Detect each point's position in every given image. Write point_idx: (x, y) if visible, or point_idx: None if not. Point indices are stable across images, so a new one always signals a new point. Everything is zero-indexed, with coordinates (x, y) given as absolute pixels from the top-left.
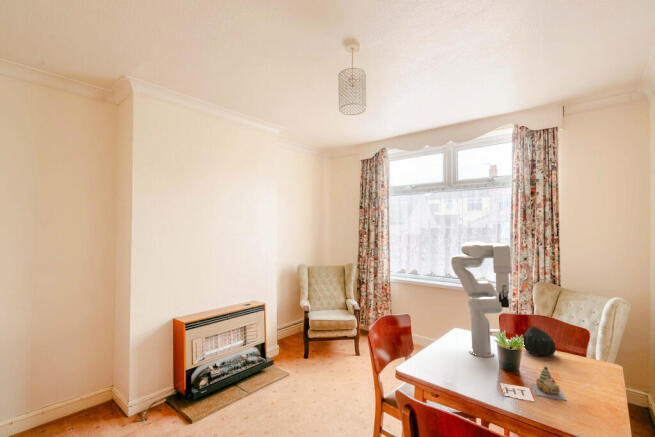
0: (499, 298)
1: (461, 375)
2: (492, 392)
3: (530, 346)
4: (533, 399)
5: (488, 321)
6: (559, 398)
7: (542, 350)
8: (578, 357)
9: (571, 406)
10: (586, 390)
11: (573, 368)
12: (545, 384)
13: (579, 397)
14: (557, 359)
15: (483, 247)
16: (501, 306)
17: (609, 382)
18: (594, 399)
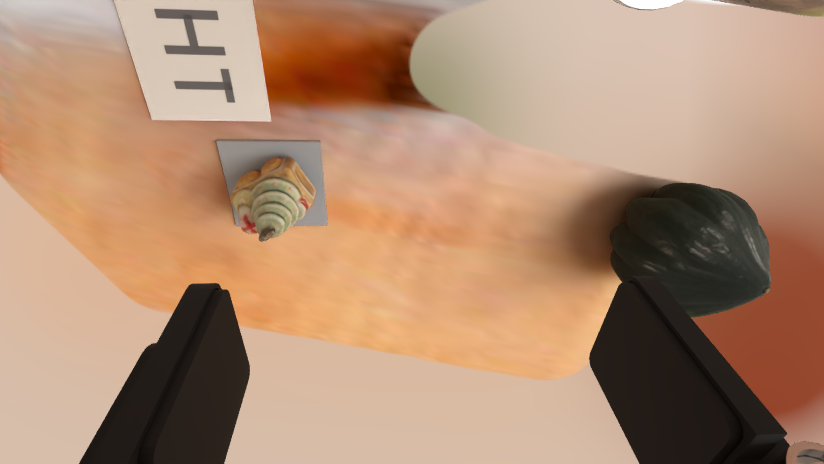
0: (664, 343)
1: None
2: None
3: (644, 212)
4: (167, 119)
5: (811, 6)
6: (233, 208)
7: (613, 247)
8: None
9: (203, 228)
10: (352, 289)
11: (519, 294)
12: (237, 192)
13: (288, 262)
14: (594, 268)
15: None
16: (187, 289)
17: (436, 347)
18: (297, 292)
